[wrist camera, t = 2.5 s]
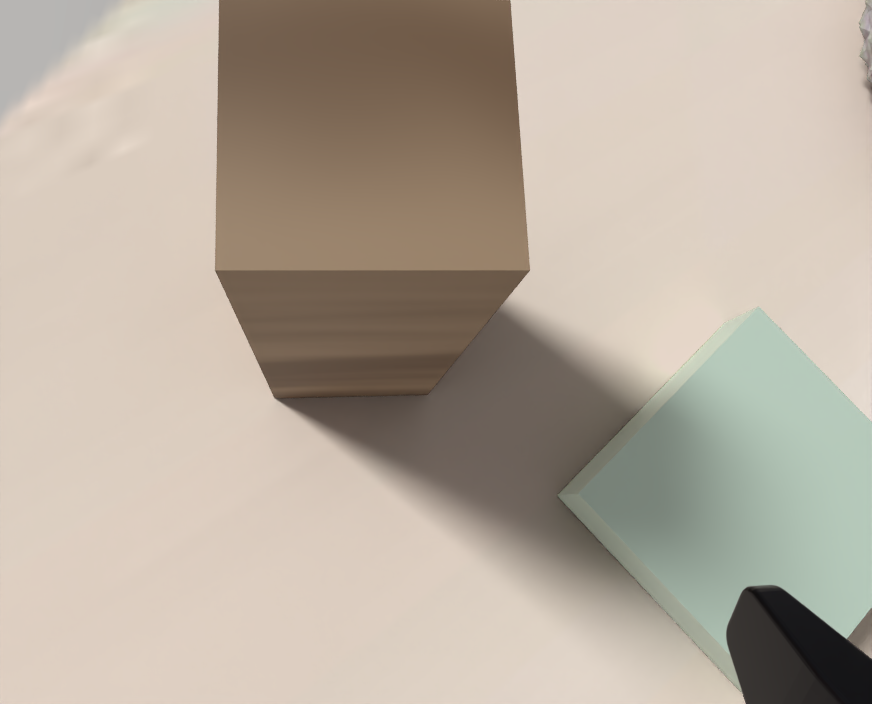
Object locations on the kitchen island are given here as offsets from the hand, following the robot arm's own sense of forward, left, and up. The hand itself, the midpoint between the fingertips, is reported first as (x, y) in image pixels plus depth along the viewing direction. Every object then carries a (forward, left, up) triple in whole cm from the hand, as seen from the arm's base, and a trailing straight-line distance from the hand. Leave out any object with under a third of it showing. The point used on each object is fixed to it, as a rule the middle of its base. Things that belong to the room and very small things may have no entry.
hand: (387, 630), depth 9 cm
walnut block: (+5, -5, -13) cm, 15 cm away
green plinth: (-7, -10, -13) cm, 17 cm away
